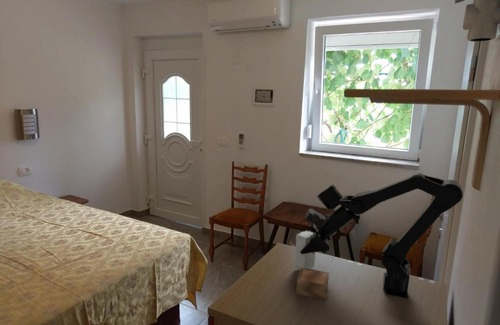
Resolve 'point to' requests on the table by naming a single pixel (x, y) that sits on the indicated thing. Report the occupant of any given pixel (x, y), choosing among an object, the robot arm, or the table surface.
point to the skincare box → (303, 259)
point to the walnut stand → (313, 283)
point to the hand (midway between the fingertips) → (301, 248)
